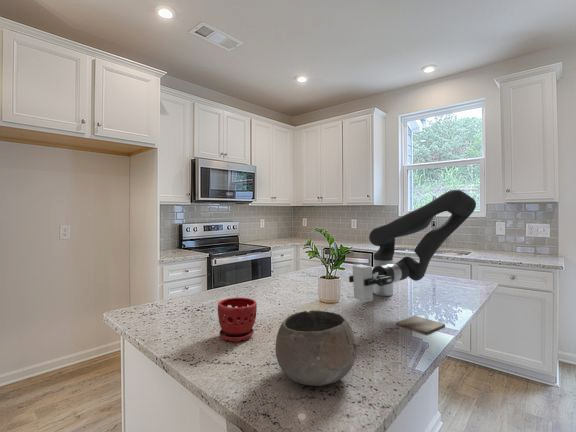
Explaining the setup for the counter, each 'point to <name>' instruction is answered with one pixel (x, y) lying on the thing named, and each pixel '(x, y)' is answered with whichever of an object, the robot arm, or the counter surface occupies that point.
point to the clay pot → (315, 347)
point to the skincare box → (362, 282)
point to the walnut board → (420, 324)
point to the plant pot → (237, 318)
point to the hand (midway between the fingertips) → (357, 281)
